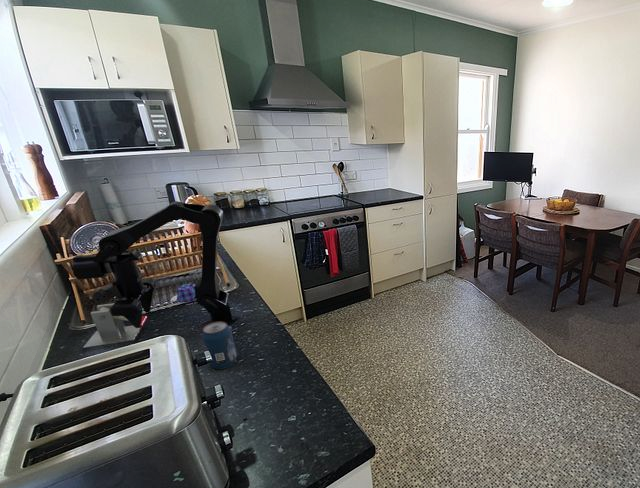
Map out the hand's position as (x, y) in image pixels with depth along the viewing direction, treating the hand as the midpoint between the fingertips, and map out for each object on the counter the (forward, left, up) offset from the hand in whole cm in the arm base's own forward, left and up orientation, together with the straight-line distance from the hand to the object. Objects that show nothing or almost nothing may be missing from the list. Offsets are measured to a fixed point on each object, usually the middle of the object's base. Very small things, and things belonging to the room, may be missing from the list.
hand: (143, 319), depth 107 cm
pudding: (+10, -20, -5) cm, 23 cm away
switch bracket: (+6, +6, -5) cm, 10 cm away
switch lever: (+4, +4, +1) cm, 5 cm away
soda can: (-33, -1, -5) cm, 34 cm away
